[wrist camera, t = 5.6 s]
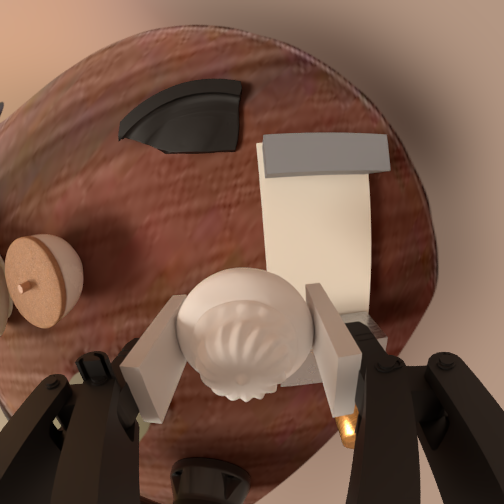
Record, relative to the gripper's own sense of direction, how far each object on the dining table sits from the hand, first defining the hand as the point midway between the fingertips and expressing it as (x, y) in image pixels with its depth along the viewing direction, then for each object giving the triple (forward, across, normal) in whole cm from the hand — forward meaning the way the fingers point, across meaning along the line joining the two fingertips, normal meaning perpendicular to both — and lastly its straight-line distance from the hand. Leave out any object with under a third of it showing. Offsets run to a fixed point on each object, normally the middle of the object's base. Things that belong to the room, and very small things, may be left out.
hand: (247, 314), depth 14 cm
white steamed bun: (+2, 0, 0) cm, 2 cm away
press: (+15, -7, +1) cm, 17 cm away
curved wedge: (+16, +6, -15) cm, 23 cm away
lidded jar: (+16, +25, 0) cm, 29 cm away
